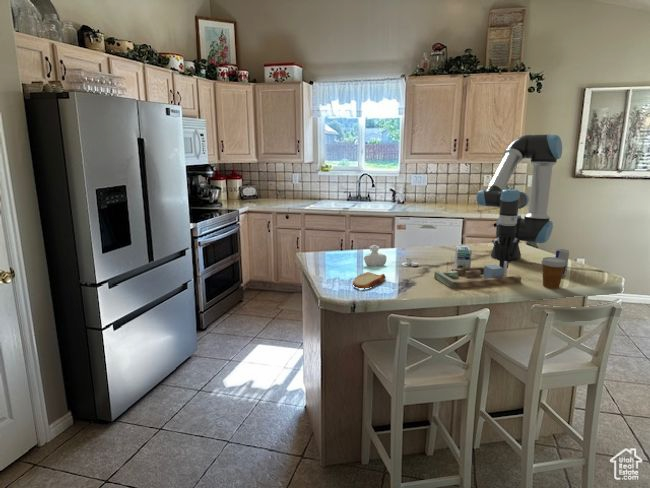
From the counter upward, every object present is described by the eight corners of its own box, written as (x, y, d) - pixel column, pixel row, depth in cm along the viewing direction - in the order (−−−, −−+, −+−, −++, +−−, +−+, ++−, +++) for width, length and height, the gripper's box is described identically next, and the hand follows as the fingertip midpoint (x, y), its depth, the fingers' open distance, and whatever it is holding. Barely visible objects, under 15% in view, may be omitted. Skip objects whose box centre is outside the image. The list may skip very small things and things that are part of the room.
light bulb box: (470, 271, 211) (472, 250, 209) (456, 271, 213) (457, 249, 210) (468, 265, 222) (469, 245, 219) (454, 265, 223) (455, 244, 220)
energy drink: (550, 274, 206) (553, 249, 204) (558, 273, 209) (561, 248, 206) (560, 277, 202) (563, 252, 199) (568, 276, 204) (572, 251, 201)
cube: (494, 277, 202) (495, 264, 201) (502, 280, 197) (503, 268, 195) (483, 278, 201) (484, 265, 200) (491, 282, 195) (492, 269, 194)
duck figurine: (385, 268, 226) (382, 248, 230) (389, 262, 219) (385, 242, 223) (363, 269, 224) (360, 249, 228) (366, 264, 217) (363, 243, 221)
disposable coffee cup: (540, 288, 186) (543, 261, 184) (537, 282, 195) (540, 256, 192) (565, 290, 183) (568, 263, 180) (561, 284, 192) (564, 257, 189)
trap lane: (494, 270, 213) (495, 264, 212) (520, 282, 195) (521, 276, 194) (431, 275, 205) (431, 269, 204) (452, 288, 187) (452, 281, 186)
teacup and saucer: (420, 267, 221) (420, 259, 220) (405, 268, 219) (405, 260, 218) (414, 262, 229) (414, 255, 228) (399, 263, 228) (399, 256, 227)
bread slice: (357, 291, 184) (357, 283, 183) (344, 279, 201) (344, 271, 200) (396, 288, 189) (396, 279, 188) (380, 276, 206) (381, 268, 205)
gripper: (500, 226, 189) (495, 278, 194) (525, 225, 192) (520, 276, 198) (489, 223, 196) (485, 273, 202) (514, 222, 200) (510, 271, 205)
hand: (503, 275), depth 200 cm, fingers closed
